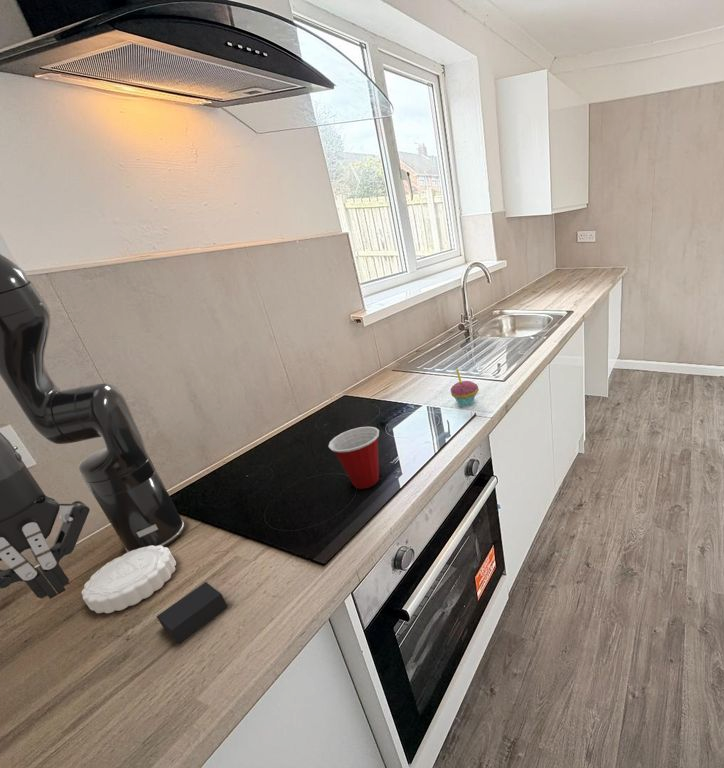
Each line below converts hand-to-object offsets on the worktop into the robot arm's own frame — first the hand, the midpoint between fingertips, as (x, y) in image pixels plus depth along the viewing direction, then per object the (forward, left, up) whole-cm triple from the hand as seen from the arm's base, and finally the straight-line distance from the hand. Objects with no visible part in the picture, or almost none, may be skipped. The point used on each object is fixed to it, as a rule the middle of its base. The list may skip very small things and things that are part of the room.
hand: (55, 592), depth 51 cm
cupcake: (-5, +89, -17) cm, 91 cm away
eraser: (0, +10, -17) cm, 19 cm away
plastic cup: (-3, +47, -17) cm, 50 cm away
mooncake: (-18, +8, -17) cm, 26 cm away
